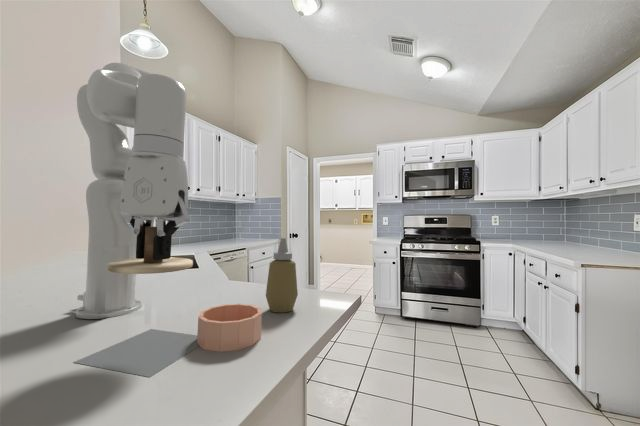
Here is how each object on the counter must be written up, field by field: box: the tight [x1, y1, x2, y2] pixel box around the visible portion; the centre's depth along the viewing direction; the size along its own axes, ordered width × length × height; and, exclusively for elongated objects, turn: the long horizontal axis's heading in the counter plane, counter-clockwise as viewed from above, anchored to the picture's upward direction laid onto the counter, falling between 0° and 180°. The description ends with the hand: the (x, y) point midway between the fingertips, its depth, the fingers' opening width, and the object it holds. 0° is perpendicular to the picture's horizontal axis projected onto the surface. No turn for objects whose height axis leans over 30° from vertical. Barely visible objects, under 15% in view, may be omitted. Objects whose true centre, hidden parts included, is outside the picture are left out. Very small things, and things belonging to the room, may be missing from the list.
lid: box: [107, 226, 194, 275], centre depth 48 cm, size 12×12×7 cm
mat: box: [73, 328, 201, 378], centre depth 47 cm, size 14×14×1 cm
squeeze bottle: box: [265, 237, 299, 313], centre depth 71 cm, size 8×8×18 cm
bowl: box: [197, 303, 263, 353], centre depth 52 cm, size 11×11×5 cm
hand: (153, 257), depth 48 cm, fingers closed on lid, 2 cm apart
